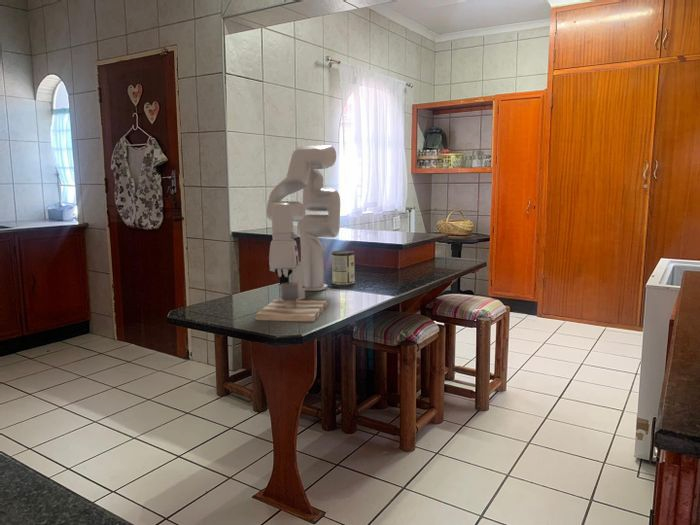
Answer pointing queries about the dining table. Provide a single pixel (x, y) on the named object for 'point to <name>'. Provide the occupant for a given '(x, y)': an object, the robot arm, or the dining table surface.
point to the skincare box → (298, 280)
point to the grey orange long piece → (289, 290)
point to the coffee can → (343, 267)
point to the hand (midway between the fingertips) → (284, 287)
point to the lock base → (292, 310)
